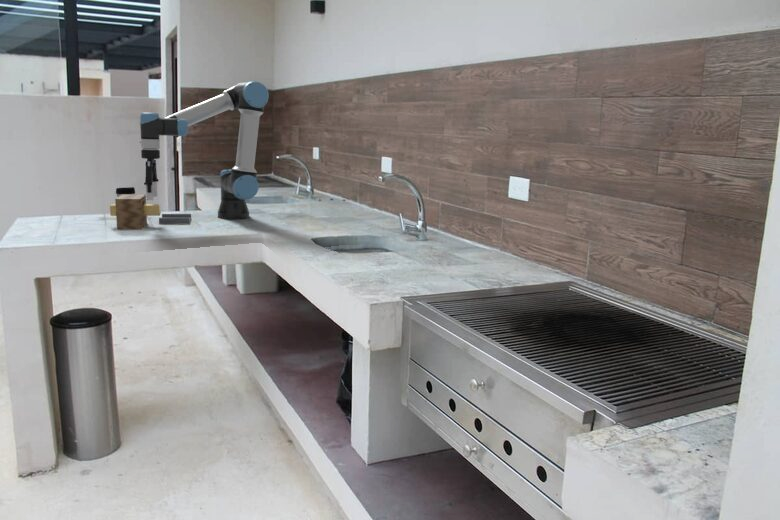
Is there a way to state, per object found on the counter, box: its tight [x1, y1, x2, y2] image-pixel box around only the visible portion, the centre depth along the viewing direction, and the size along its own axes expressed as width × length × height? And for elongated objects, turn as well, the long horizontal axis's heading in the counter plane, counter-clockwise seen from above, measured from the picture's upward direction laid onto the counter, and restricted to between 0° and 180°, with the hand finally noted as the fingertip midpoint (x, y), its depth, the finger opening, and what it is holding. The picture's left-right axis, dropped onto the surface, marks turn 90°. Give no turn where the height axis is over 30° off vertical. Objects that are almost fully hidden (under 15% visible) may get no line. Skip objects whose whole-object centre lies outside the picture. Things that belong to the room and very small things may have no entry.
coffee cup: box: [115, 186, 136, 198], centre depth 300 cm, size 8×8×15 cm
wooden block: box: [114, 193, 148, 230], centre depth 284 cm, size 10×16×13 cm, turn 13°
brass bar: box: [109, 203, 162, 217], centre depth 284 cm, size 20×4×4 cm, turn 103°
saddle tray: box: [158, 213, 192, 225], centre depth 300 cm, size 13×13×3 cm
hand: (151, 198), depth 285 cm, fingers open, 13 cm apart
